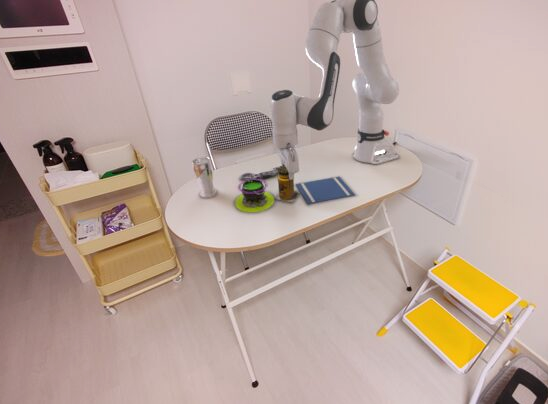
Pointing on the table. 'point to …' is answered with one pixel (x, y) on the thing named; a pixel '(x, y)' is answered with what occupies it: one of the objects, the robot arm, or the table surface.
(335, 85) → the robot arm
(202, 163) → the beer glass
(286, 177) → the condiment
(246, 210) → the toy cauldron
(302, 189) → the blue board
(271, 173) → the knife
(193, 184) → the table surface
